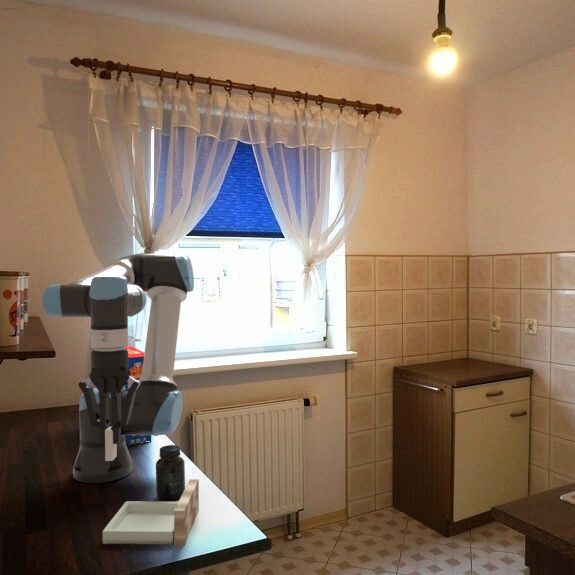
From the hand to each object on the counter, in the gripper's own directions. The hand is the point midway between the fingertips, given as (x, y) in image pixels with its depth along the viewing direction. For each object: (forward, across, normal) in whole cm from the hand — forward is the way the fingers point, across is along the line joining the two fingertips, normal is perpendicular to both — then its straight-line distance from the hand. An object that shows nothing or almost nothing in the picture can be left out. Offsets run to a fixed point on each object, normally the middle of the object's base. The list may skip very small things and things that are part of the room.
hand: (111, 458), depth 112 cm
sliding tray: (+14, +8, -1) cm, 16 cm away
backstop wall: (+14, +16, -1) cm, 22 cm away
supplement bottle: (+15, +9, +14) cm, 22 cm away
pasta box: (+15, -18, +67) cm, 71 cm away
